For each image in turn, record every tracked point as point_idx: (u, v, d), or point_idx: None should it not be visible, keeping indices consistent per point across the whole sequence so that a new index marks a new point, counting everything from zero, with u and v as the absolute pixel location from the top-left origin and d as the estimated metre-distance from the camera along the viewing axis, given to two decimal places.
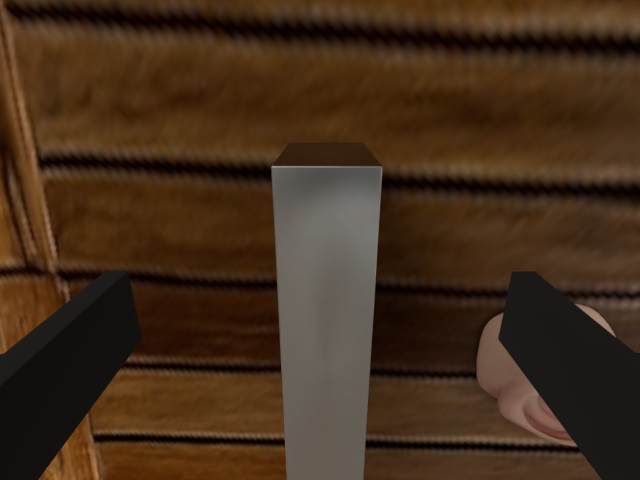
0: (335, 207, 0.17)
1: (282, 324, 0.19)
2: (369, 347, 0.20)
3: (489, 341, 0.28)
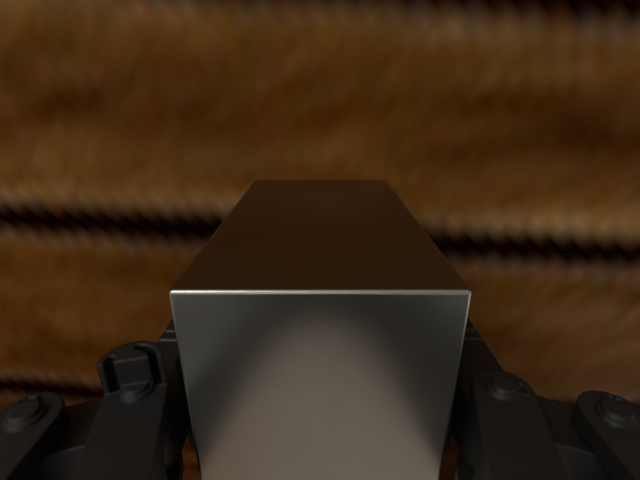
0: (342, 383, 0.07)
1: None
2: None
3: None
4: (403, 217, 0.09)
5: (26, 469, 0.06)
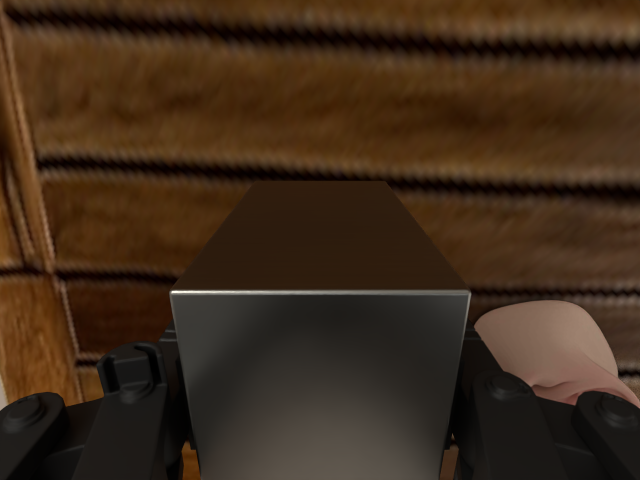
0: (342, 383, 0.07)
1: None
2: None
3: None
4: (403, 217, 0.09)
5: (26, 469, 0.06)
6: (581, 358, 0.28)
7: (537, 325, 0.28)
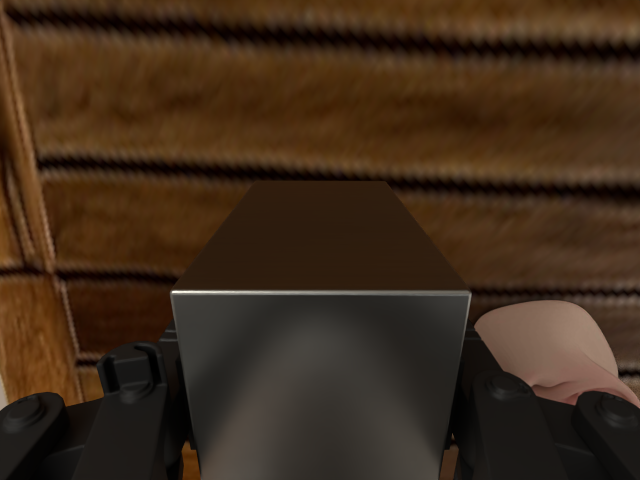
0: (342, 383, 0.07)
1: None
2: None
3: None
4: (403, 218, 0.09)
5: (26, 469, 0.06)
6: (581, 358, 0.28)
7: (537, 325, 0.28)
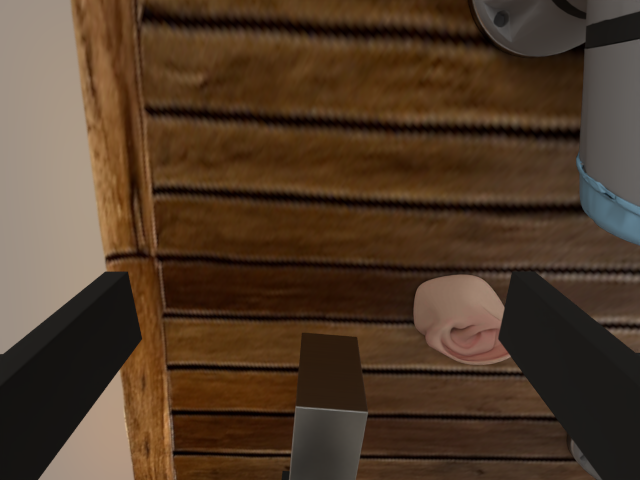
0: (334, 430, 0.25)
1: None
2: None
3: (419, 298, 0.46)
4: (358, 372, 0.28)
5: None
6: (480, 310, 0.45)
7: (454, 289, 0.45)
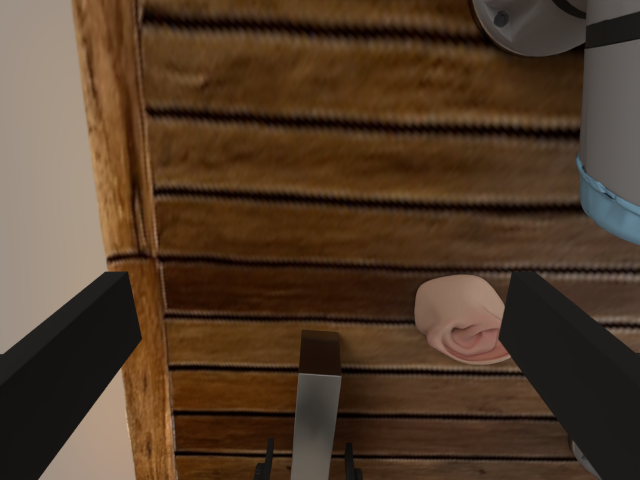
0: (322, 388, 0.42)
1: (296, 427, 0.44)
2: (332, 438, 0.45)
3: (420, 298, 0.46)
4: (337, 354, 0.45)
5: None
6: (481, 310, 0.45)
7: (454, 289, 0.45)
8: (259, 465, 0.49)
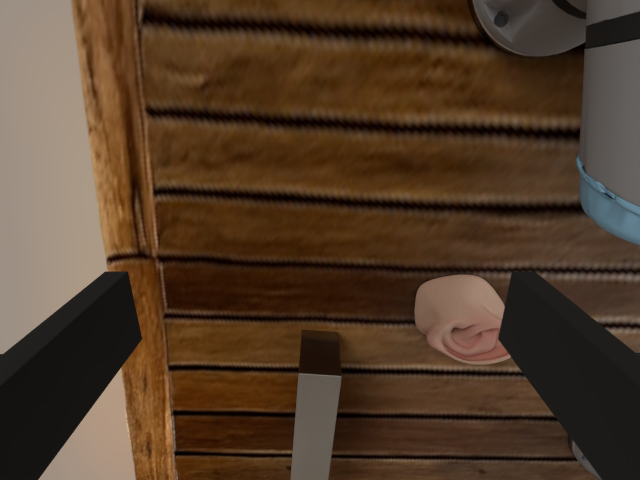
0: (322, 388, 0.42)
1: (296, 427, 0.44)
2: (332, 438, 0.45)
3: (420, 298, 0.46)
4: (337, 354, 0.45)
5: None
6: (481, 310, 0.45)
7: (454, 289, 0.45)
8: None
